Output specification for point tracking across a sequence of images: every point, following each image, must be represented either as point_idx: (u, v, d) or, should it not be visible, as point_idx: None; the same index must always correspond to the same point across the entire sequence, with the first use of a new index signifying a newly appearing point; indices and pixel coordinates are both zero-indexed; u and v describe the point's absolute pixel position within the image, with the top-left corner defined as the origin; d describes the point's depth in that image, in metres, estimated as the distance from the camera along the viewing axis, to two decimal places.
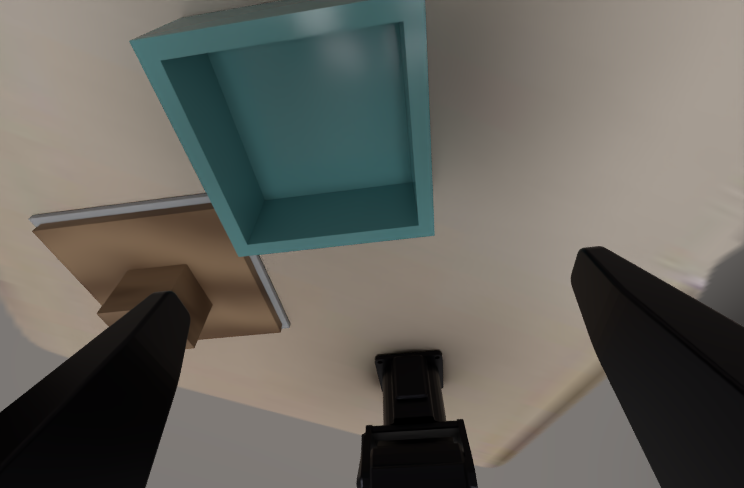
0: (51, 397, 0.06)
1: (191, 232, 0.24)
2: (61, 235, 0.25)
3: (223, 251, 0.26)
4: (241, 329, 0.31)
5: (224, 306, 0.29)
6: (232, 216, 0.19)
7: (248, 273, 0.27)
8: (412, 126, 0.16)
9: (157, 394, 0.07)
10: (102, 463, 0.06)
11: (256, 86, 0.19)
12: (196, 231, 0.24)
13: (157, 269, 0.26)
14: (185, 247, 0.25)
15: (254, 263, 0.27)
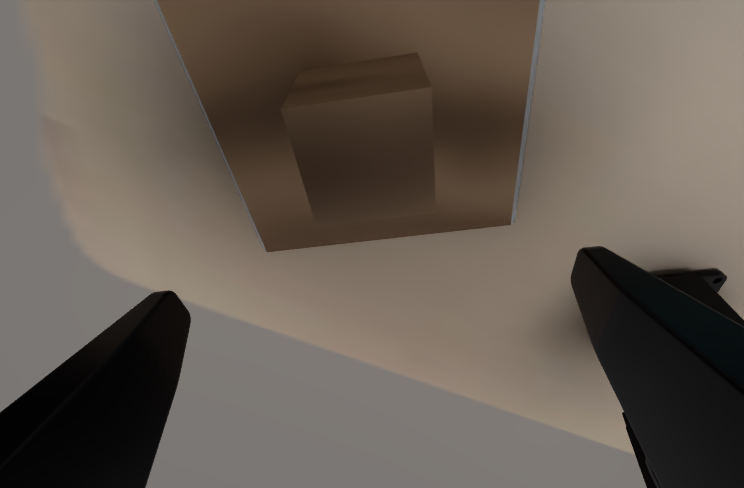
0: (51, 397, 0.06)
1: None
2: None
3: (503, 16, 0.13)
4: (448, 218, 0.19)
5: (441, 165, 0.17)
6: None
7: (523, 80, 0.14)
8: None
9: (157, 394, 0.07)
10: (102, 463, 0.06)
11: None
12: None
13: (362, 62, 0.14)
14: (433, 3, 0.13)
15: None
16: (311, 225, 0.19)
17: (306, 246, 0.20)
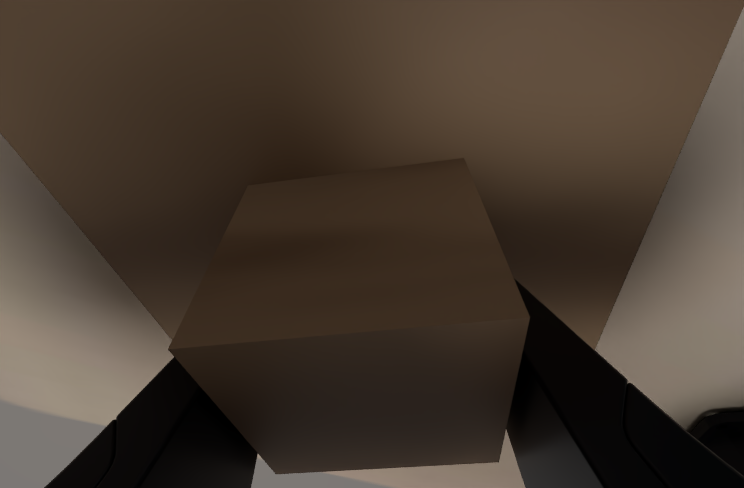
0: (180, 387, 0.06)
1: None
2: (1, 0, 0.06)
3: (636, 99, 0.07)
4: None
5: None
6: None
7: (650, 199, 0.08)
8: None
9: None
10: (223, 456, 0.06)
11: None
12: None
13: (360, 177, 0.07)
14: (503, 76, 0.06)
15: None
16: None
17: None
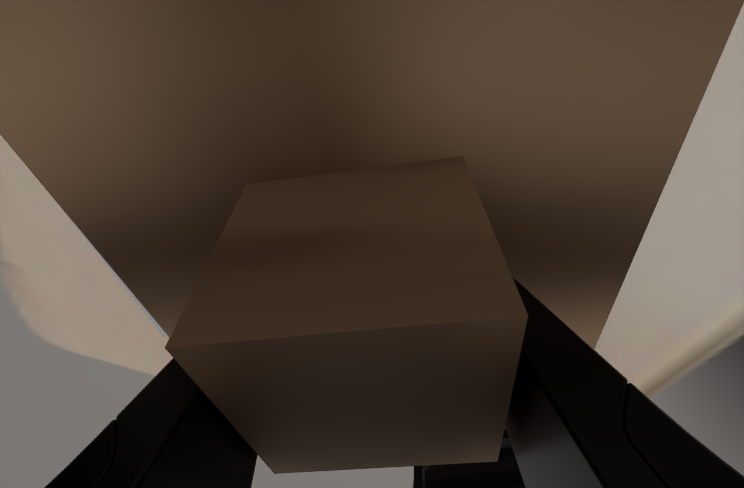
0: (180, 387, 0.06)
1: None
2: None
3: (635, 96, 0.07)
4: None
5: None
6: None
7: (649, 197, 0.08)
8: None
9: None
10: (223, 456, 0.06)
11: None
12: None
13: (358, 175, 0.07)
14: (501, 74, 0.06)
15: None
16: None
17: None
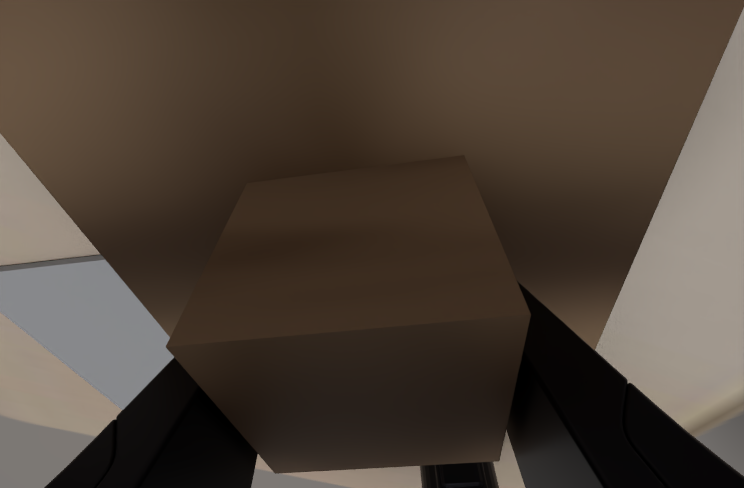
0: (180, 387, 0.06)
1: None
2: None
3: (637, 95, 0.07)
4: None
5: None
6: None
7: (650, 196, 0.08)
8: None
9: None
10: (223, 456, 0.06)
11: None
12: None
13: (359, 174, 0.07)
14: (503, 72, 0.06)
15: None
16: None
17: None
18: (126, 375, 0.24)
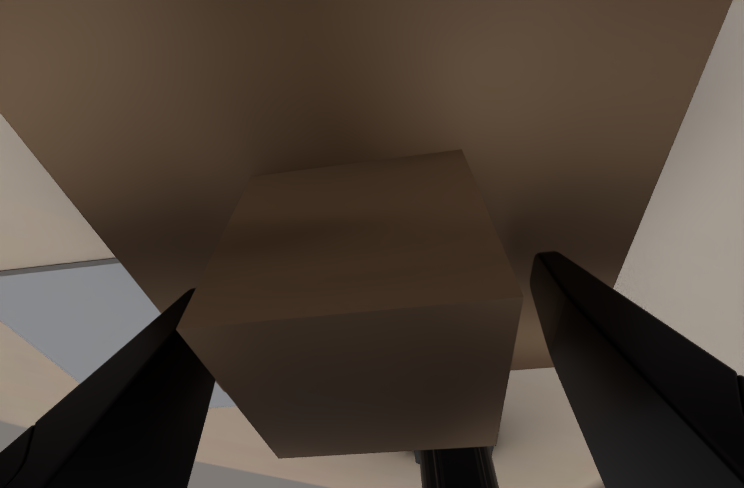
0: (102, 393, 0.06)
1: None
2: None
3: (629, 90, 0.07)
4: None
5: None
6: None
7: (644, 190, 0.08)
8: None
9: (198, 391, 0.07)
10: (150, 460, 0.06)
11: None
12: None
13: (360, 167, 0.08)
14: (499, 68, 0.07)
15: None
16: None
17: None
18: None
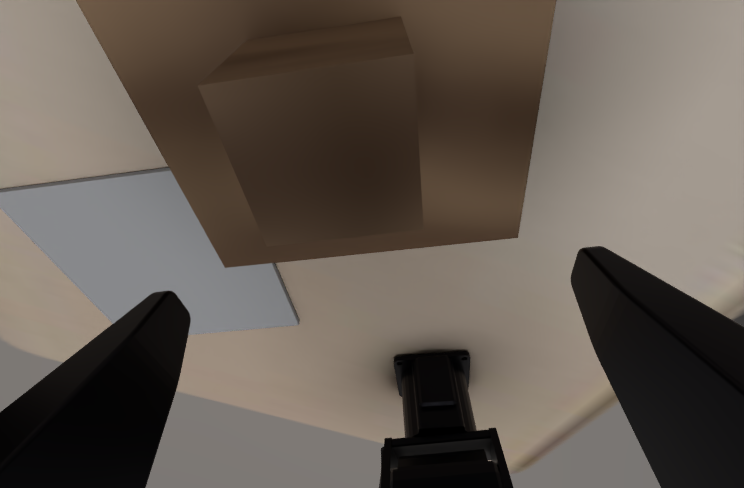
0: (51, 397, 0.06)
1: None
2: None
3: None
4: (442, 230, 0.15)
5: (434, 165, 0.13)
6: None
7: (540, 55, 0.11)
8: None
9: (157, 394, 0.07)
10: (102, 463, 0.06)
11: None
12: None
13: (327, 29, 0.10)
14: None
15: None
16: None
17: (272, 261, 0.16)
18: (134, 301, 0.26)
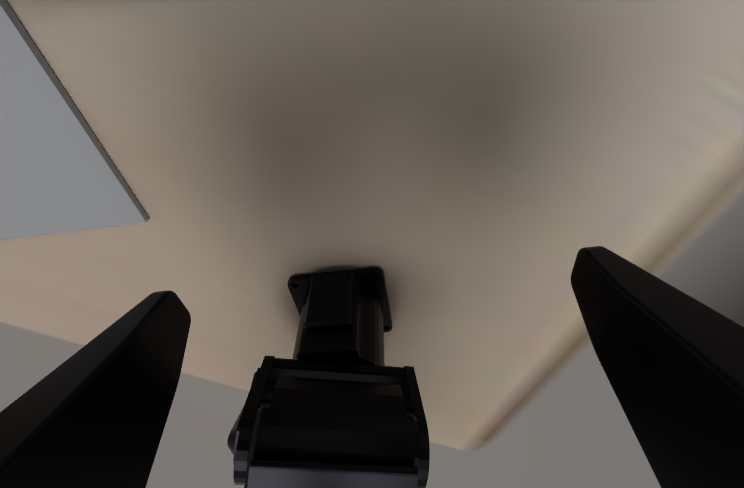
0: (51, 397, 0.06)
1: None
2: None
3: None
4: None
5: None
6: None
7: None
8: None
9: (157, 394, 0.07)
10: (102, 463, 0.06)
11: None
12: None
13: None
14: None
15: (44, 84, 0.17)
16: None
17: None
18: None
